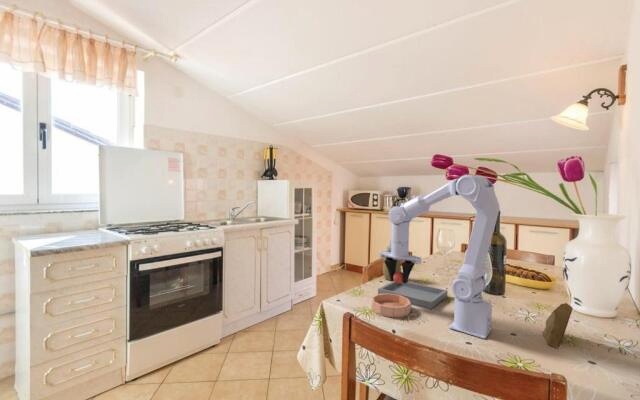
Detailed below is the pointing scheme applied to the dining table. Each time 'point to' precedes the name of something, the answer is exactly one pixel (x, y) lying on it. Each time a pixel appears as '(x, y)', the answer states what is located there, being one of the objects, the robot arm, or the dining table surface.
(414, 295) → the tray
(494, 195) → the robot arm
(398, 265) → the squeeze bottle
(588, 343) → the dining table surface
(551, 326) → the rock
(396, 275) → the ball
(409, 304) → the pink bowl
